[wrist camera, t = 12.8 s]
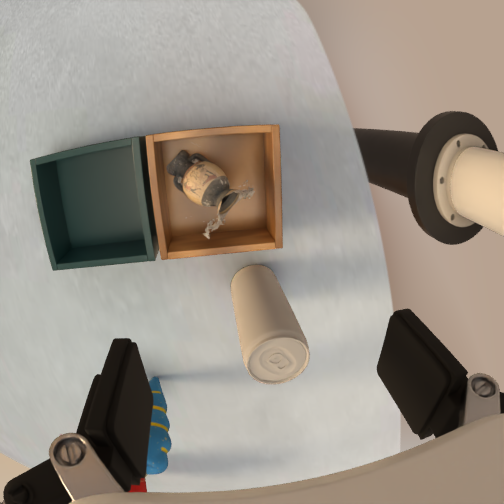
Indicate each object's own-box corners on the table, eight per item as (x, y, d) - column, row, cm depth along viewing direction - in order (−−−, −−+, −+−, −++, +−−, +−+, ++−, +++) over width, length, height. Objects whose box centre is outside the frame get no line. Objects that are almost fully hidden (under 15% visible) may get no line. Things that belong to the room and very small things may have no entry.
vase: (198, 223, 28) (153, 174, 25) (243, 183, 28) (201, 132, 25) (206, 242, 23) (150, 183, 20) (261, 193, 23) (210, 131, 20)
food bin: (267, 125, 26) (279, 124, 22) (271, 230, 30) (282, 248, 26) (155, 134, 25) (145, 135, 21) (167, 240, 29) (161, 260, 25)
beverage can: (256, 252, 31) (286, 323, 20) (285, 284, 32) (323, 359, 21) (220, 283, 31) (230, 364, 20) (250, 311, 33) (272, 394, 22)
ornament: (171, 394, 36) (167, 494, 23) (133, 386, 35) (117, 485, 21) (177, 367, 35) (173, 475, 21) (135, 358, 33) (115, 465, 20)
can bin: (149, 135, 25) (138, 136, 21) (162, 241, 29) (155, 260, 24) (53, 154, 24) (29, 160, 20) (70, 251, 28) (52, 270, 23)
